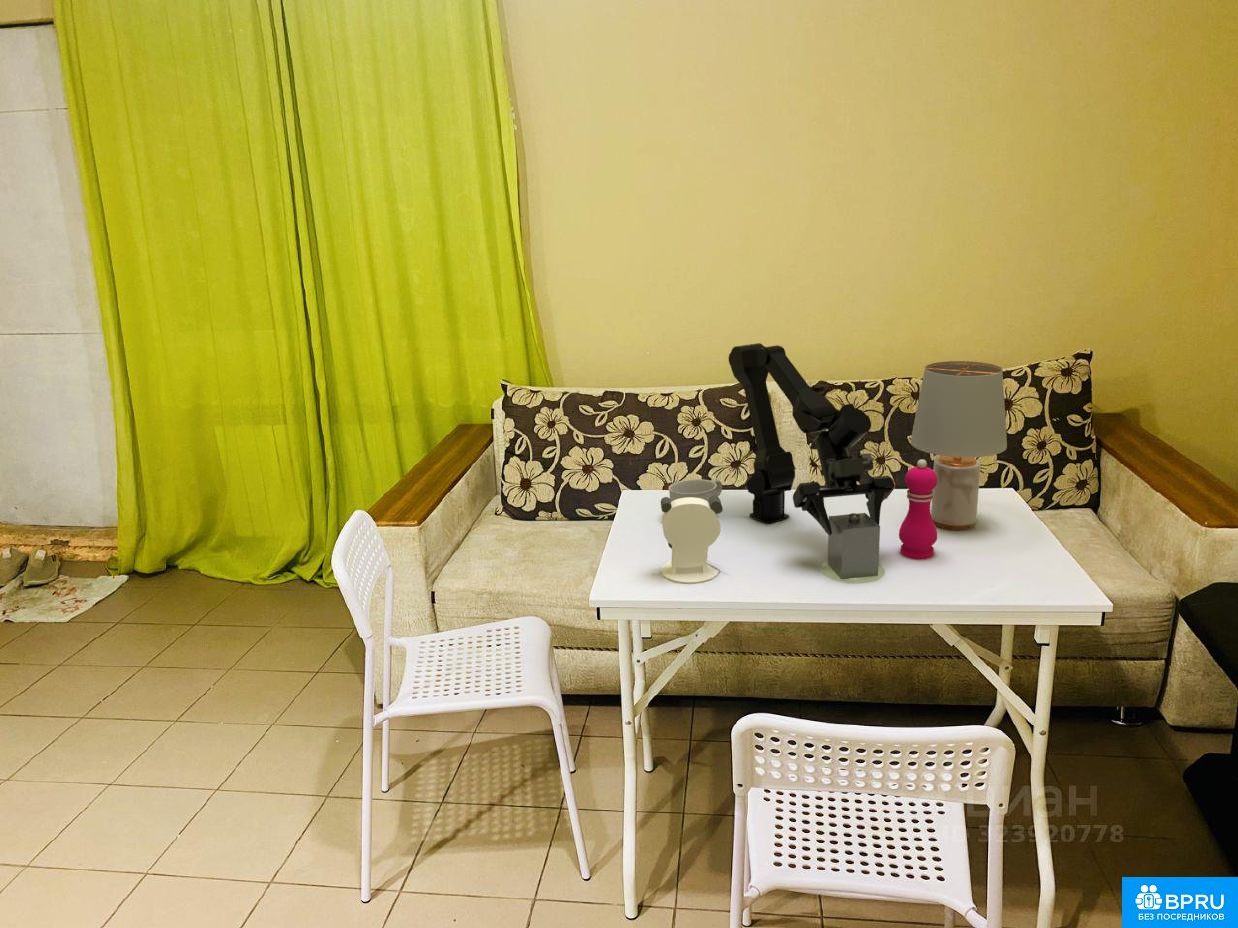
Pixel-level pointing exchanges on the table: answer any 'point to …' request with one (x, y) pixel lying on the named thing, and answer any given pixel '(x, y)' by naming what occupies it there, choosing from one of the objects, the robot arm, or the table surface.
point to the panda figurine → (690, 537)
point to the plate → (832, 575)
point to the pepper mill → (919, 513)
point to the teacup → (695, 489)
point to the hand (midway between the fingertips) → (853, 531)
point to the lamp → (959, 433)
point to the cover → (853, 545)
